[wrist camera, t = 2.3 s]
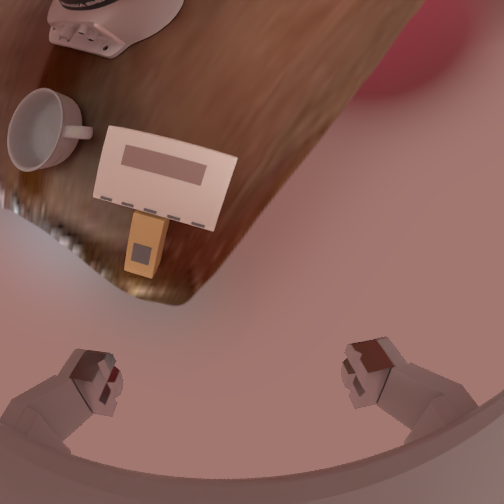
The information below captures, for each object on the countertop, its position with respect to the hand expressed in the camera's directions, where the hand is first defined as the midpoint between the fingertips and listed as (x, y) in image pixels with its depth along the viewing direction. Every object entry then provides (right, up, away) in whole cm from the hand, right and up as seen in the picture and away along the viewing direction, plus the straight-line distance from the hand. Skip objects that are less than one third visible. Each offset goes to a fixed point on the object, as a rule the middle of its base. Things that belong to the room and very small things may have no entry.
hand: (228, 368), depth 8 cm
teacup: (-25, +21, +21) cm, 39 cm away
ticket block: (-10, +14, +25) cm, 31 cm away
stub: (-13, +6, +28) cm, 31 cm away
